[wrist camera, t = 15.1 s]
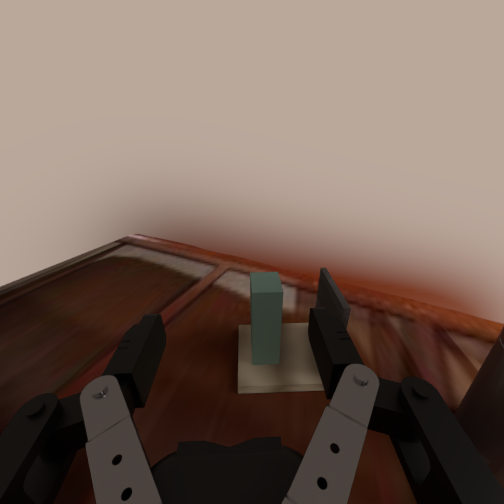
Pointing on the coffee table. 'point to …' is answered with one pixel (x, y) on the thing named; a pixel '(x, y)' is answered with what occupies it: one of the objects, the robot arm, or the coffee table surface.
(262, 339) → the tall sage green prism
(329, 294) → the desktop book rack
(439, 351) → the coffee table surface
